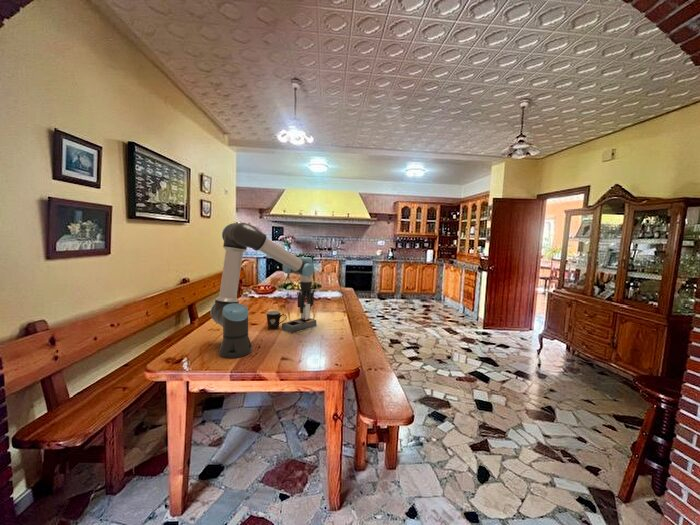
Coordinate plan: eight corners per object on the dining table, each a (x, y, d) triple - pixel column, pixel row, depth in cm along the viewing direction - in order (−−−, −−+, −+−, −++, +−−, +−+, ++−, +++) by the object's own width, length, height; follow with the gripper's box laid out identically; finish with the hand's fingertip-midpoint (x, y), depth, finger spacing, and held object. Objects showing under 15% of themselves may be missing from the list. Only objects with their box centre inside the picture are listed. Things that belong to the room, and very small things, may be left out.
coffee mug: (263, 329, 181) (263, 313, 180) (271, 325, 189) (271, 310, 188) (280, 331, 178) (280, 315, 177) (287, 327, 186) (287, 312, 185)
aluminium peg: (305, 320, 186) (305, 304, 185) (301, 318, 189) (301, 303, 188) (309, 318, 189) (310, 303, 189) (305, 317, 192) (305, 302, 191)
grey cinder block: (292, 333, 175) (292, 326, 174) (281, 329, 181) (281, 322, 181) (316, 326, 190) (316, 319, 190) (305, 322, 197) (305, 316, 196)
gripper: (299, 283, 178) (299, 320, 180) (319, 280, 191) (319, 315, 193) (291, 282, 182) (291, 318, 185) (311, 279, 196) (311, 313, 198)
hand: (305, 316), depth 189 cm, fingers open, 4 cm apart
